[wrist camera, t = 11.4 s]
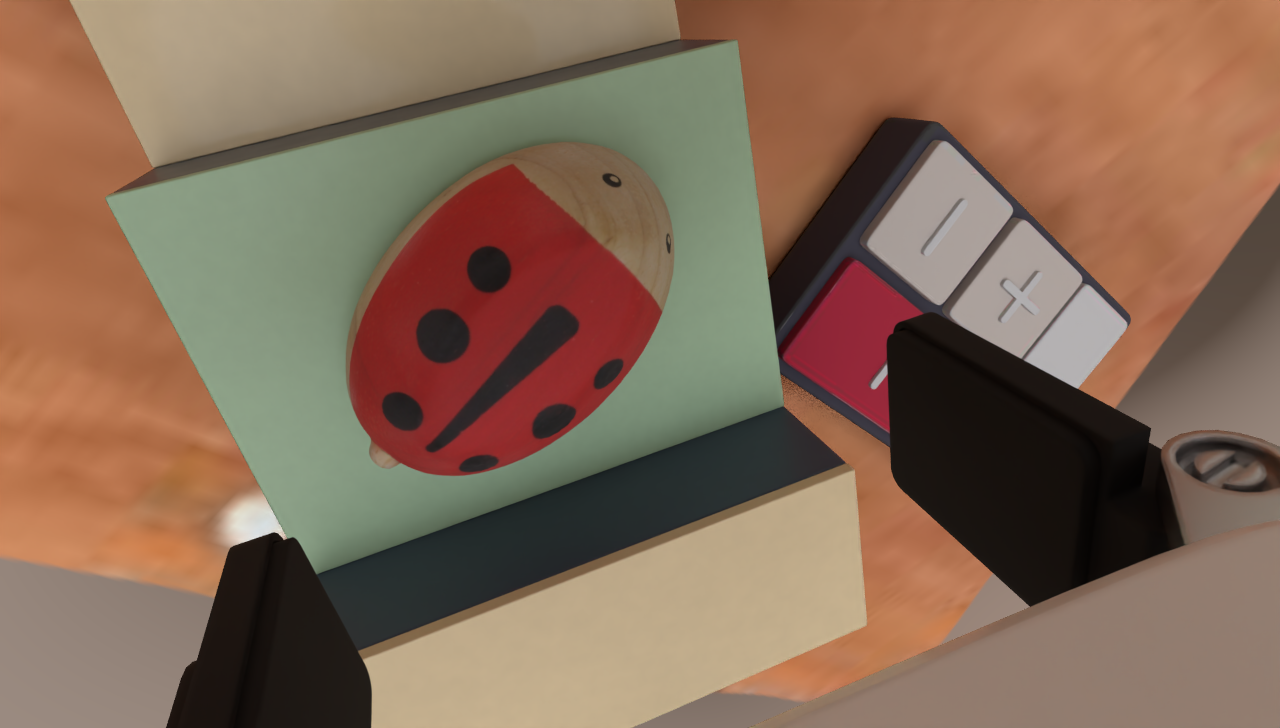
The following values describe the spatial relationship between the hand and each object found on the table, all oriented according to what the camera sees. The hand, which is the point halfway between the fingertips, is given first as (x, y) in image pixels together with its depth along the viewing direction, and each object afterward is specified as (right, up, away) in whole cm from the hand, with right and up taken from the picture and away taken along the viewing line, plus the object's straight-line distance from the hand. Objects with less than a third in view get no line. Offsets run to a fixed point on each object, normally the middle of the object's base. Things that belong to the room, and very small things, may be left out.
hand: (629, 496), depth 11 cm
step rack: (-6, +6, +15) cm, 18 cm away
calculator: (+13, +4, +23) cm, 27 cm away
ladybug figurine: (-3, +4, +8) cm, 10 cm away
